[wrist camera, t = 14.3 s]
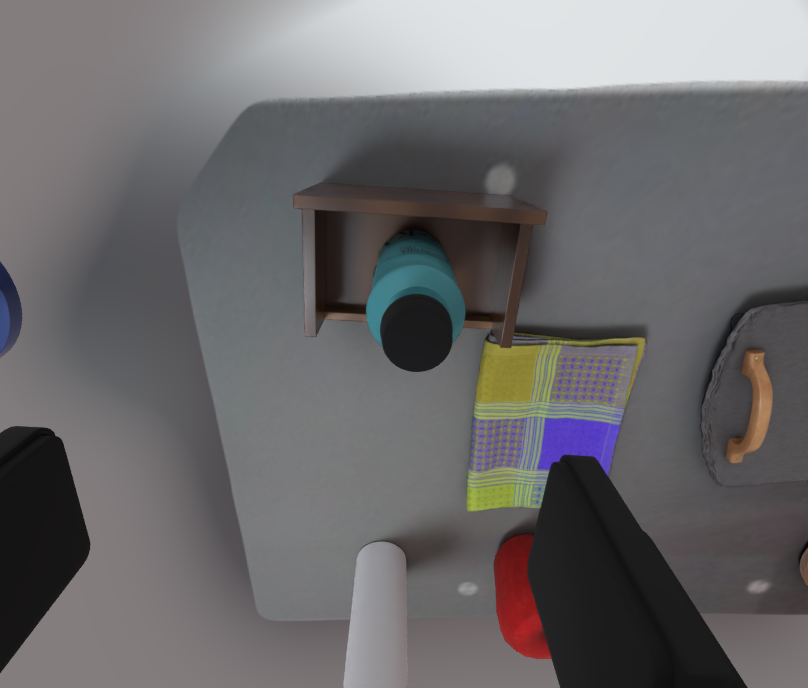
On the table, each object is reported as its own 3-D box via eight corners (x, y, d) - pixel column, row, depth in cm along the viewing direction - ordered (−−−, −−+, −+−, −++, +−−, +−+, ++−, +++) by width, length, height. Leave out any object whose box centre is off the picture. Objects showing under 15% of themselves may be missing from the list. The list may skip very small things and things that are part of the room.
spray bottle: (415, 563, 62) (424, 806, 39) (376, 583, 64) (362, 829, 41) (386, 533, 60) (378, 772, 37) (347, 555, 61) (314, 797, 38)
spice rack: (321, 303, 47) (297, 350, 36) (320, 182, 43) (292, 193, 32) (492, 314, 48) (519, 363, 37) (510, 195, 43) (547, 211, 32)
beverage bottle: (447, 290, 44) (481, 392, 25) (378, 294, 44) (363, 399, 26) (445, 221, 41) (482, 279, 23) (373, 226, 41) (350, 287, 23)
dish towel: (457, 499, 58) (460, 515, 55) (484, 320, 48) (489, 330, 46) (592, 506, 58) (601, 523, 56) (646, 331, 49) (659, 341, 46)
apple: (495, 583, 64) (518, 689, 51) (475, 531, 60) (495, 632, 47) (569, 565, 62) (611, 669, 50) (554, 511, 59) (595, 608, 46)
